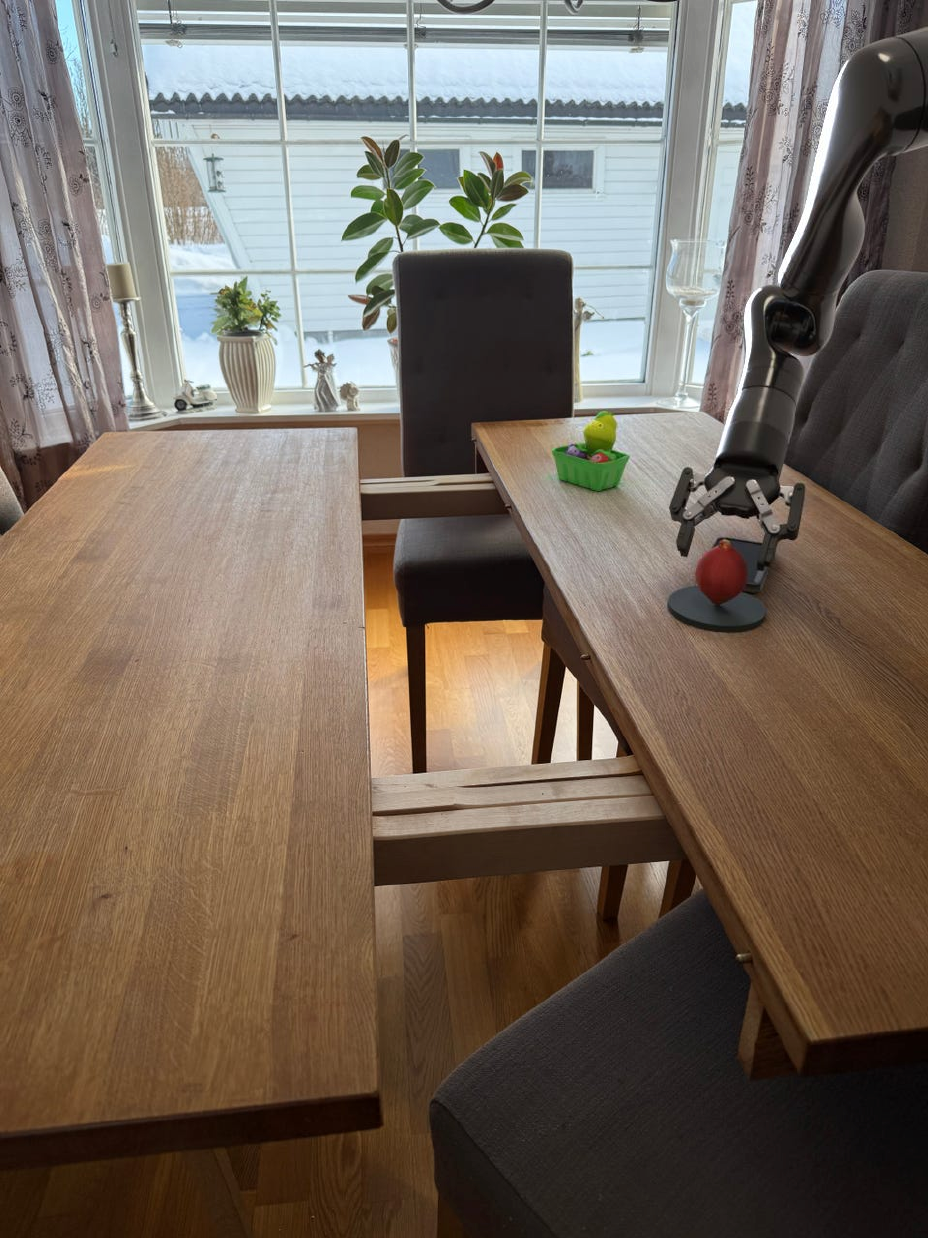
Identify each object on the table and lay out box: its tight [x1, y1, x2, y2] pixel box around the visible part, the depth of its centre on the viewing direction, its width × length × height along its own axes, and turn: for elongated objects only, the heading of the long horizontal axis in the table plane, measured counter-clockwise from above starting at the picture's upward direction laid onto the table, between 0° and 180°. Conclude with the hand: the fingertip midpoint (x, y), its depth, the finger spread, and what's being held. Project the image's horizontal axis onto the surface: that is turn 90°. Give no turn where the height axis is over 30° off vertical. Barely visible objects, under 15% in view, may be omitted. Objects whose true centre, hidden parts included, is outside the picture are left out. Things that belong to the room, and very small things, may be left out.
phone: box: [710, 536, 777, 594], centre depth 114 cm, size 8×1×15 cm
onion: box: [694, 540, 748, 605], centre depth 100 cm, size 6×6×8 cm
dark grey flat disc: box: [666, 585, 767, 633], centre depth 102 cm, size 11×11×1 cm
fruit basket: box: [551, 410, 631, 492], centre depth 145 cm, size 11×9×11 cm
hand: (721, 561), depth 99 cm, fingers open, 8 cm apart
